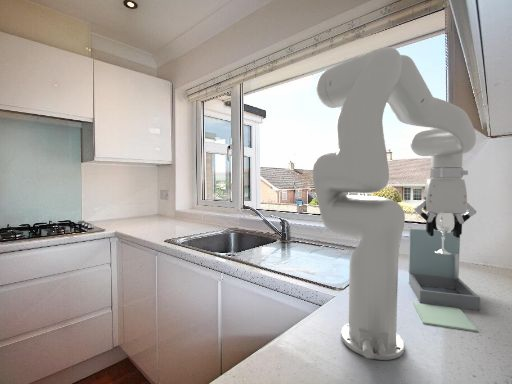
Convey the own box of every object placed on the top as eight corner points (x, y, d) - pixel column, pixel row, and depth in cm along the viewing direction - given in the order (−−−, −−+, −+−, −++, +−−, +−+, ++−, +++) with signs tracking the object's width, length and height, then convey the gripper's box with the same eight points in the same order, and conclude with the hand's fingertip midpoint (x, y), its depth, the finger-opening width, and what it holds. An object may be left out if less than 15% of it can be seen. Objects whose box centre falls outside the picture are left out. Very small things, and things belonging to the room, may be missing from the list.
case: (479, 310, 73) (482, 242, 72) (419, 302, 78) (421, 238, 77) (456, 287, 88) (458, 230, 87) (408, 282, 93) (409, 228, 92)
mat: (477, 331, 63) (477, 330, 63) (423, 323, 66) (423, 322, 66) (459, 309, 73) (459, 308, 73) (413, 303, 77) (413, 302, 77)
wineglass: (428, 252, 80) (430, 211, 79) (433, 249, 84) (435, 210, 84) (452, 256, 76) (454, 213, 75) (456, 252, 80) (458, 212, 79)
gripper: (475, 174, 80) (473, 235, 80) (409, 174, 85) (407, 231, 86) (488, 174, 73) (485, 241, 73) (415, 174, 78) (412, 236, 79)
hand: (443, 235), depth 80 cm, fingers closed on wineglass, 5 cm apart
